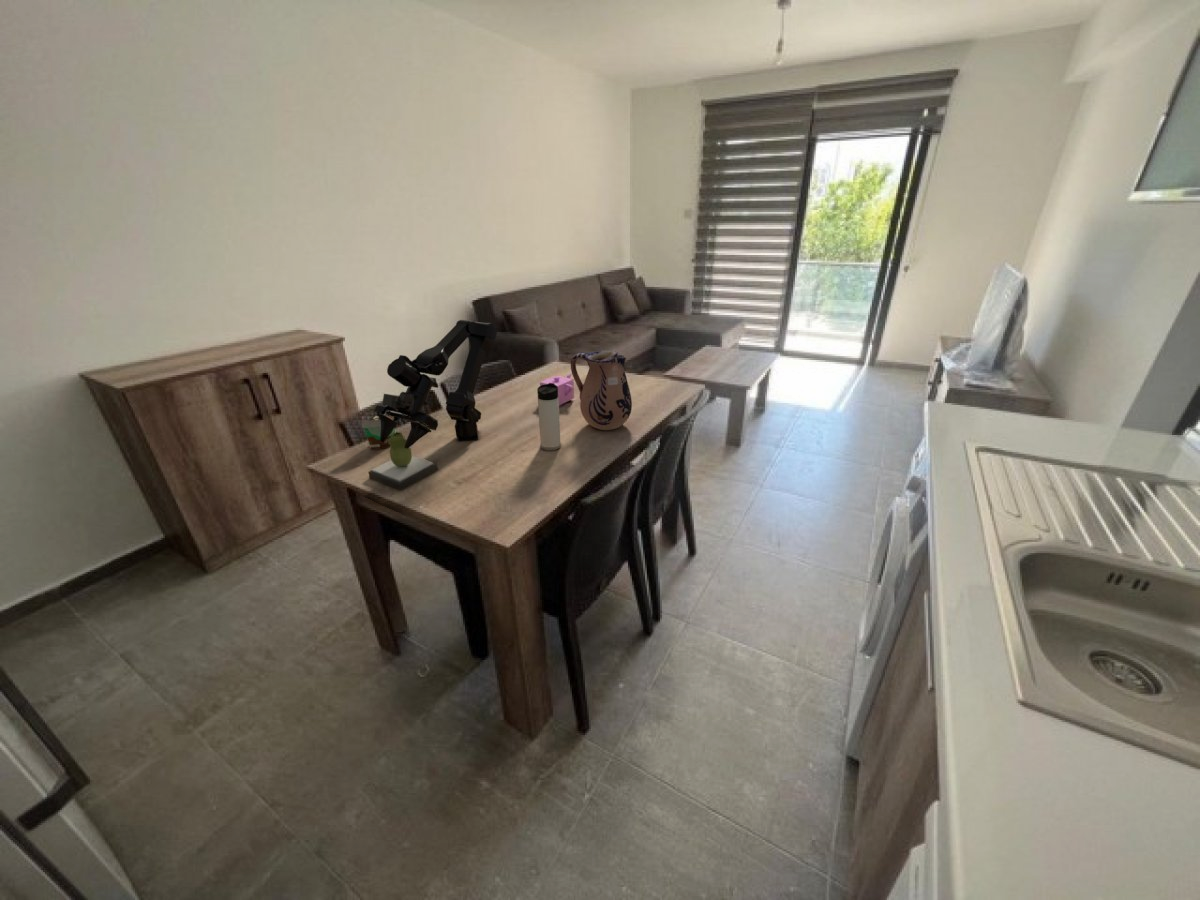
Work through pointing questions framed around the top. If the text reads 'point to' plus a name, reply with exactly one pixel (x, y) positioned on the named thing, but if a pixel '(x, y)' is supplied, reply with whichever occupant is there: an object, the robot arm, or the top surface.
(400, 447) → the pear
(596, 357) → the ceramic pitcher
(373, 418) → the food container
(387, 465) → the kitchen scale
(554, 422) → the travel mug
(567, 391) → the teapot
